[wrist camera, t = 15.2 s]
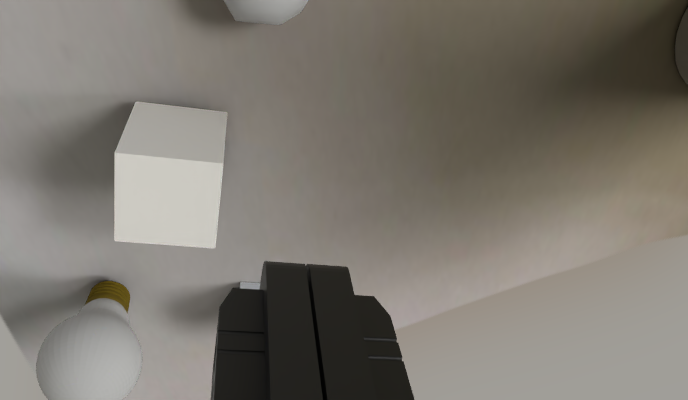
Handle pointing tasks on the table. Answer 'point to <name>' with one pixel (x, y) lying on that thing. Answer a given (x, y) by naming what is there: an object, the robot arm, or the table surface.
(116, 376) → the light bulb
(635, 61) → the table surface
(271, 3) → the tube
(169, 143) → the off-white rectangular block
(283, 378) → the robot arm
